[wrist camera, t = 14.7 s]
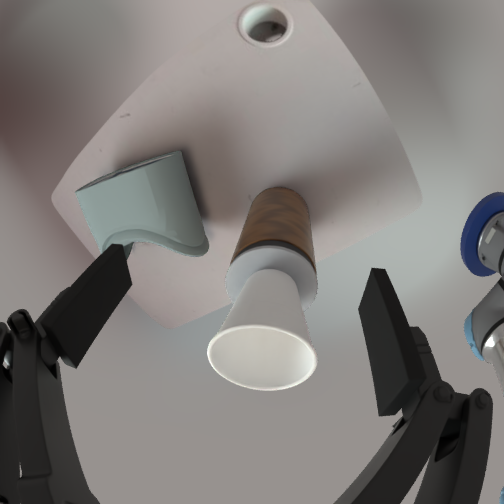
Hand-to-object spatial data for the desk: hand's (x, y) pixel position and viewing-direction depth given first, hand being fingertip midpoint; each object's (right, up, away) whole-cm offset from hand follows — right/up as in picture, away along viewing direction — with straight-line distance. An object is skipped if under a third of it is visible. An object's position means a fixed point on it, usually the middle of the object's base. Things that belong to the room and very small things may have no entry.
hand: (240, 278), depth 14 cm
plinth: (+6, +8, +38) cm, 39 cm away
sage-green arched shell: (-19, +11, +40) cm, 46 cm away
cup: (+3, -3, +19) cm, 19 cm away
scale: (+3, -2, +20) cm, 21 cm away
